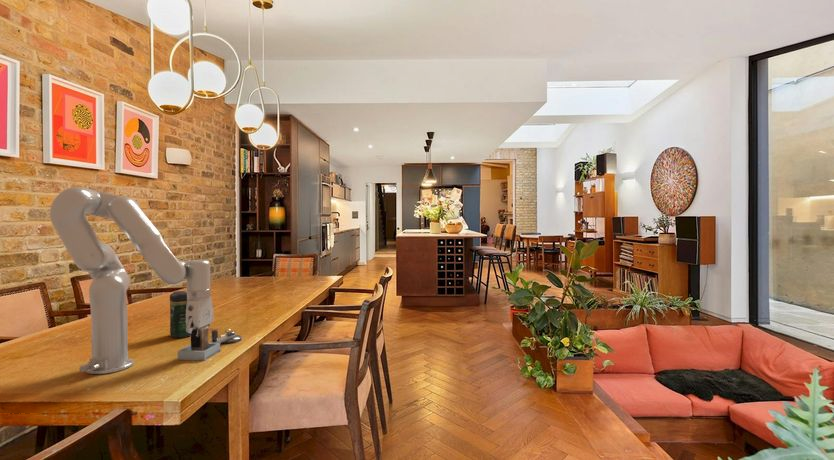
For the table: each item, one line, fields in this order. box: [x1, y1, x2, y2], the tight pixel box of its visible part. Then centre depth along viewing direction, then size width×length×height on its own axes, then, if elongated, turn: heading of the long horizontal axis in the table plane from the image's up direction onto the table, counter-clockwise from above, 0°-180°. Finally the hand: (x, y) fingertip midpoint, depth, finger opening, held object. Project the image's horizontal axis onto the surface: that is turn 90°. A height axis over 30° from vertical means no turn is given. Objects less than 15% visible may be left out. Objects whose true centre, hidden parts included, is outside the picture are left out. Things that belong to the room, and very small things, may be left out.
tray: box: [177, 342, 221, 361], centre depth 149 cm, size 10×10×3 cm
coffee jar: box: [169, 290, 191, 339], centre depth 173 cm, size 10×8×19 cm
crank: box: [208, 327, 236, 344], centre depth 162 cm, size 12×4×6 cm, turn 166°
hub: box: [221, 334, 242, 344], centre depth 167 cm, size 8×8×1 cm
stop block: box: [191, 325, 209, 351], centre depth 149 cm, size 4×4×8 cm
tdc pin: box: [224, 328, 232, 335], centre depth 172 cm, size 2×2×3 cm
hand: (199, 344), depth 149 cm, fingers closed on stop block, 4 cm apart
